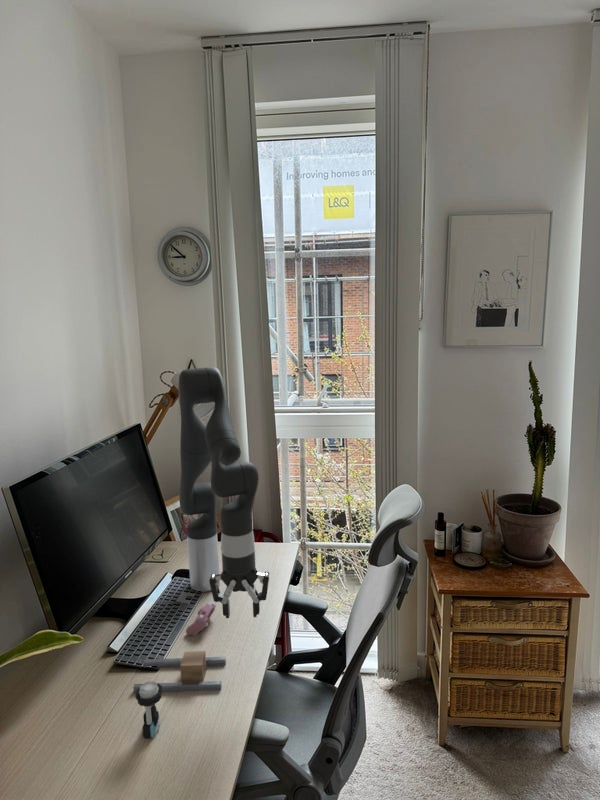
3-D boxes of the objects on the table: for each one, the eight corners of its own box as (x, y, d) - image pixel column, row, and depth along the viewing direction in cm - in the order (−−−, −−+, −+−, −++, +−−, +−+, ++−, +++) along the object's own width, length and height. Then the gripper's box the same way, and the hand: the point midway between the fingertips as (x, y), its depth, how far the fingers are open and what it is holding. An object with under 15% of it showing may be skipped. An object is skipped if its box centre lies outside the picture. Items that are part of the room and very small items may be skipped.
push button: (144, 715, 115) (140, 674, 113) (169, 714, 115) (166, 673, 114) (135, 740, 109) (131, 697, 107) (162, 739, 109) (158, 696, 107)
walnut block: (185, 670, 129) (184, 651, 128) (206, 669, 129) (205, 651, 128) (181, 684, 124) (180, 665, 123) (203, 684, 124) (201, 664, 124)
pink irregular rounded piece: (198, 642, 142) (208, 622, 140) (183, 634, 142) (193, 614, 141) (211, 621, 151) (221, 602, 150) (197, 613, 152) (207, 594, 150)
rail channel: (145, 664, 131) (144, 659, 131) (226, 662, 132) (225, 656, 131) (133, 692, 122) (133, 687, 122) (221, 689, 122) (220, 684, 122)
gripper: (270, 540, 125) (272, 605, 128) (208, 542, 125) (213, 607, 128) (269, 555, 117) (271, 624, 120) (203, 557, 117) (208, 626, 120)
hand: (241, 615), depth 124 cm, fingers open, 5 cm apart
